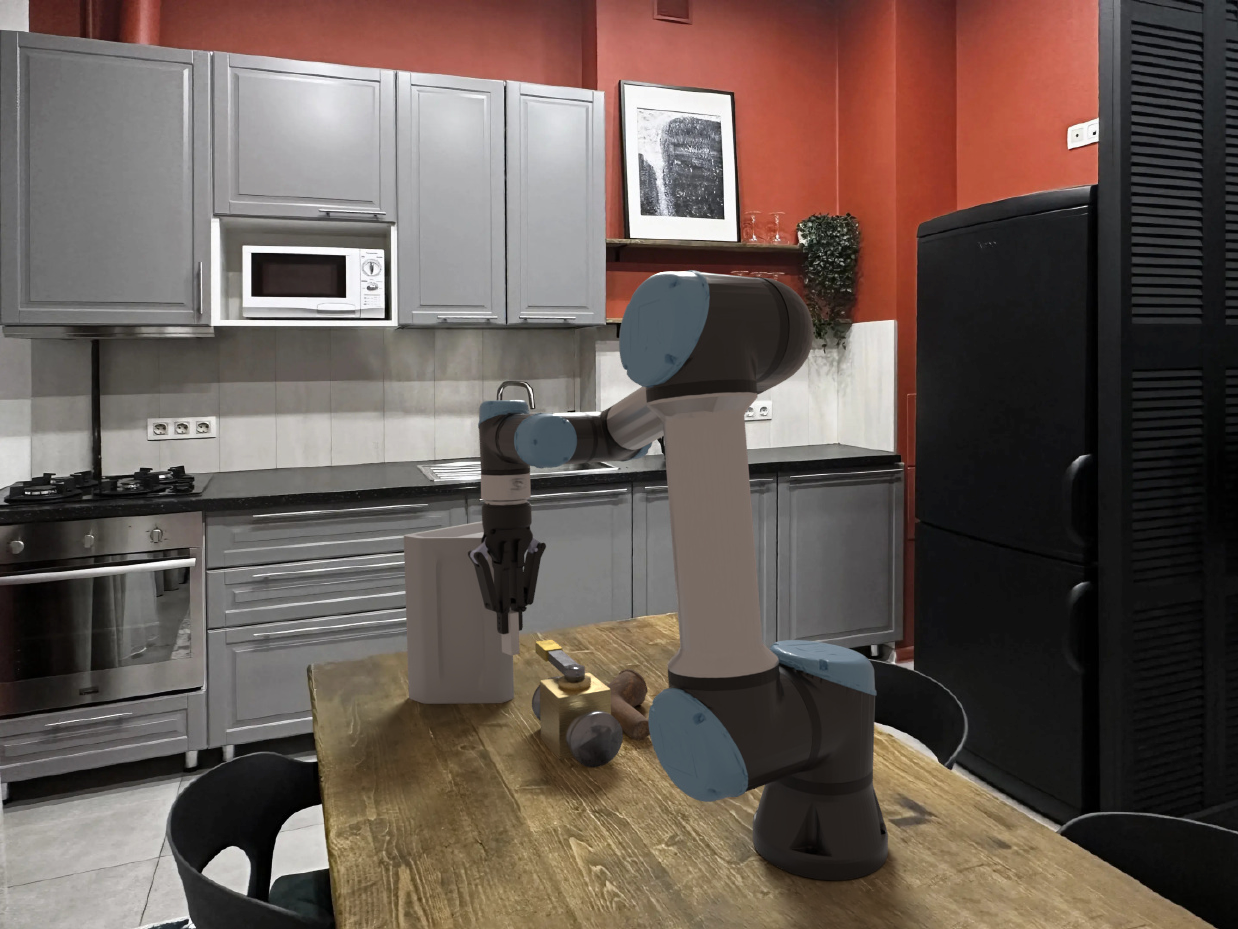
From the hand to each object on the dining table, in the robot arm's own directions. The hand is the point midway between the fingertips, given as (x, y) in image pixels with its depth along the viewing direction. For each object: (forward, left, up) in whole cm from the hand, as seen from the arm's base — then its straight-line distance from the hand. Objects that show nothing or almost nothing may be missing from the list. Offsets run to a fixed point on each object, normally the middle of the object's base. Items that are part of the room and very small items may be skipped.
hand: (510, 652), depth 134 cm
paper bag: (+17, +1, -12) cm, 21 cm away
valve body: (-11, -6, -12) cm, 17 cm away
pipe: (-6, -18, -12) cm, 22 cm away
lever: (-4, -6, -2) cm, 8 cm away
